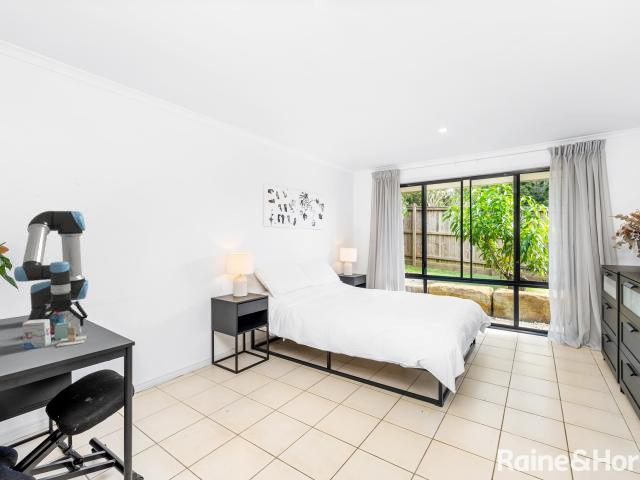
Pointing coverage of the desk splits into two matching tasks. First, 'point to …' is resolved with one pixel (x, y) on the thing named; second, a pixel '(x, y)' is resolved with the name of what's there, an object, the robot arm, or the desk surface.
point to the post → (71, 338)
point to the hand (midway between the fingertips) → (63, 335)
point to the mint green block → (61, 330)
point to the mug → (57, 319)
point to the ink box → (36, 333)
